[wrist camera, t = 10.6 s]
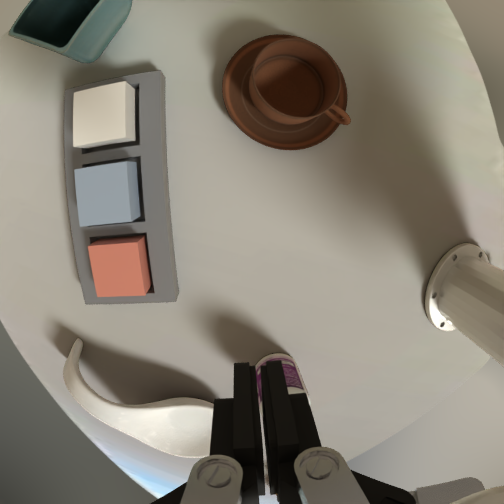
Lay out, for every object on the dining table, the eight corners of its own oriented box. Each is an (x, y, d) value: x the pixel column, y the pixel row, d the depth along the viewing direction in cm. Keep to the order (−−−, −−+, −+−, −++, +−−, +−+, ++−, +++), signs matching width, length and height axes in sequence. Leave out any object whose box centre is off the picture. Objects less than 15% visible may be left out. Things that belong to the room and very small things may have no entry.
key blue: (136, 161, 25) (126, 161, 23) (140, 216, 27) (131, 221, 24) (88, 169, 25) (74, 169, 22) (92, 220, 26) (79, 226, 23)
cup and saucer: (348, 62, 27) (374, 43, 21) (327, 164, 29) (352, 164, 24) (237, 30, 25) (242, 2, 19) (209, 136, 28) (206, 127, 22)
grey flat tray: (165, 77, 25) (160, 70, 23) (179, 292, 31) (176, 301, 29) (75, 94, 25) (65, 90, 22) (93, 295, 30) (85, 304, 28)
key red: (145, 234, 28) (137, 242, 25) (152, 283, 30) (145, 295, 27) (99, 238, 28) (87, 246, 25) (107, 285, 29) (97, 296, 26)
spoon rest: (252, 405, 37) (258, 445, 30) (207, 449, 39) (206, 485, 32) (86, 315, 31) (61, 347, 24) (62, 375, 33) (41, 407, 26)
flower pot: (149, 14, 23) (129, -29, 14) (102, 80, 25) (63, 54, 16) (92, -4, 21) (63, -40, 13) (48, 58, 23) (6, 34, 14)
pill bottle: (243, 370, 35) (251, 428, 25) (277, 343, 34) (295, 398, 25) (272, 392, 36) (286, 448, 27) (305, 368, 35) (327, 422, 26)
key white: (134, 89, 24) (125, 81, 21) (135, 140, 25) (125, 137, 22) (87, 98, 23) (73, 92, 20) (87, 148, 24) (73, 146, 22)
